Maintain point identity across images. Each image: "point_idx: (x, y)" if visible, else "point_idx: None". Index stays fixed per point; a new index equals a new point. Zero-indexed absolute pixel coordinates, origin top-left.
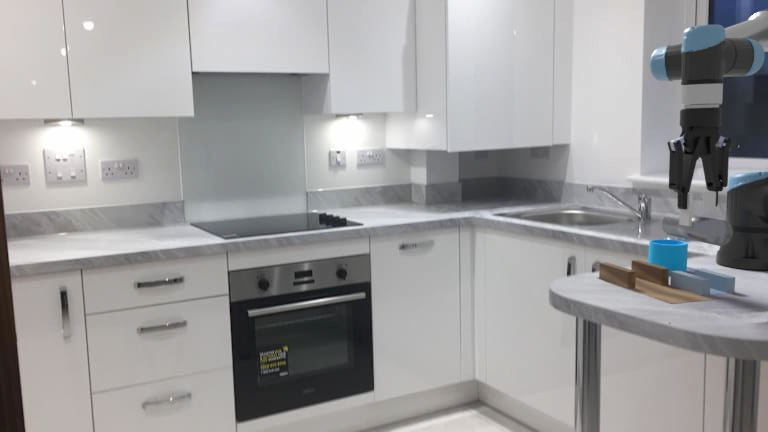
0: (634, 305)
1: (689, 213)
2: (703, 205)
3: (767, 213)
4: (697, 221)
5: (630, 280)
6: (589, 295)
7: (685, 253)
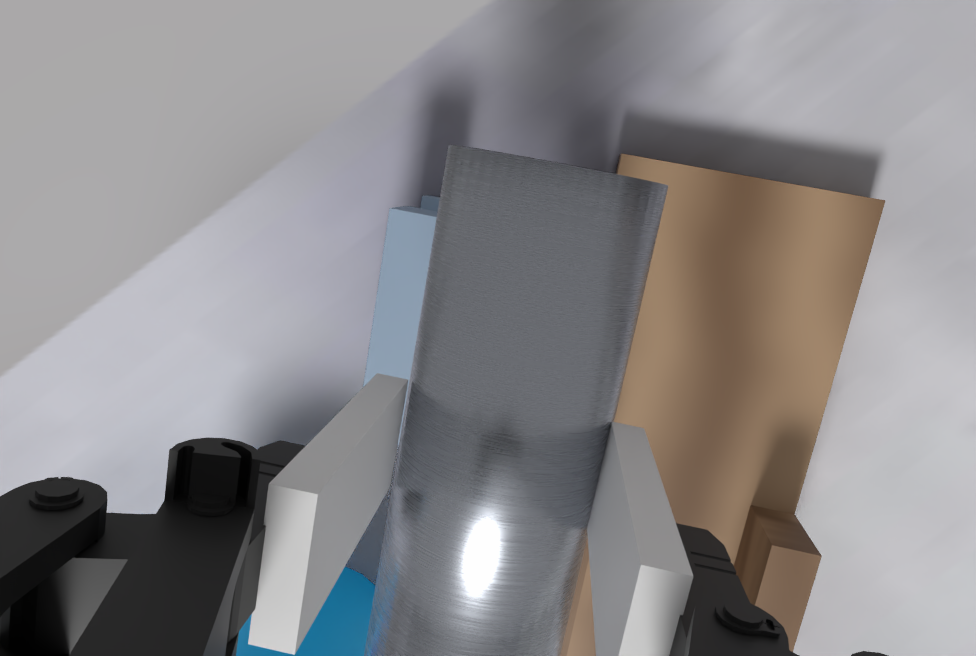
0: (912, 364)
1: (652, 471)
2: (351, 547)
3: None
4: (594, 395)
5: (791, 529)
6: (929, 596)
7: (240, 637)
